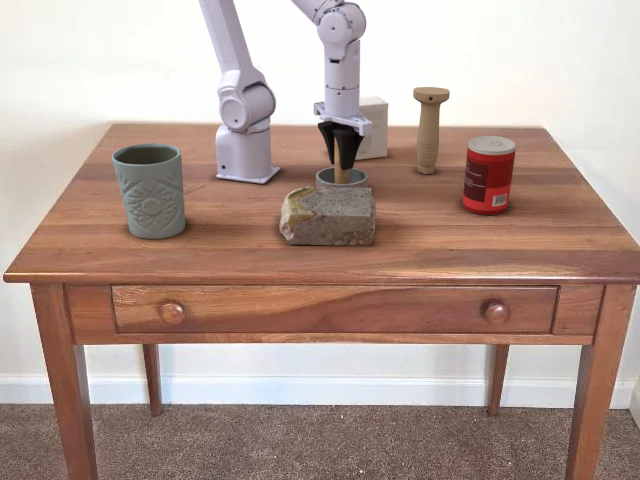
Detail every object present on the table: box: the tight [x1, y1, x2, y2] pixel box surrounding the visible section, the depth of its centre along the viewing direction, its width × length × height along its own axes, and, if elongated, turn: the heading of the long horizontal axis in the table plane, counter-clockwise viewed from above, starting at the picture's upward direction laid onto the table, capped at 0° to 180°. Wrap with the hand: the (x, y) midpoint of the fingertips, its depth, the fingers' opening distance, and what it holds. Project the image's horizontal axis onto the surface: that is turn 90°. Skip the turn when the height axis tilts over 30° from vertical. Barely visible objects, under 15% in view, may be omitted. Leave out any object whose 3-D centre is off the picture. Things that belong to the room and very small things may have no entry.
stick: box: [334, 137, 350, 184], centre depth 127 cm, size 3×3×8 cm
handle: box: [412, 86, 451, 175], centre depth 135 cm, size 5×6×15 cm
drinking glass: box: [111, 142, 186, 240], centre depth 114 cm, size 10×10×12 cm
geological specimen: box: [278, 185, 377, 246], centre depth 115 cm, size 11×6×15 cm
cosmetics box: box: [355, 95, 389, 161], centre depth 144 cm, size 10×6×10 cm, turn 111°
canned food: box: [462, 135, 517, 216], centre depth 123 cm, size 8×8×11 cm
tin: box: [315, 166, 369, 189], centre depth 130 cm, size 9×9×3 cm
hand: (341, 166), depth 128 cm, fingers closed on stick, 2 cm apart
